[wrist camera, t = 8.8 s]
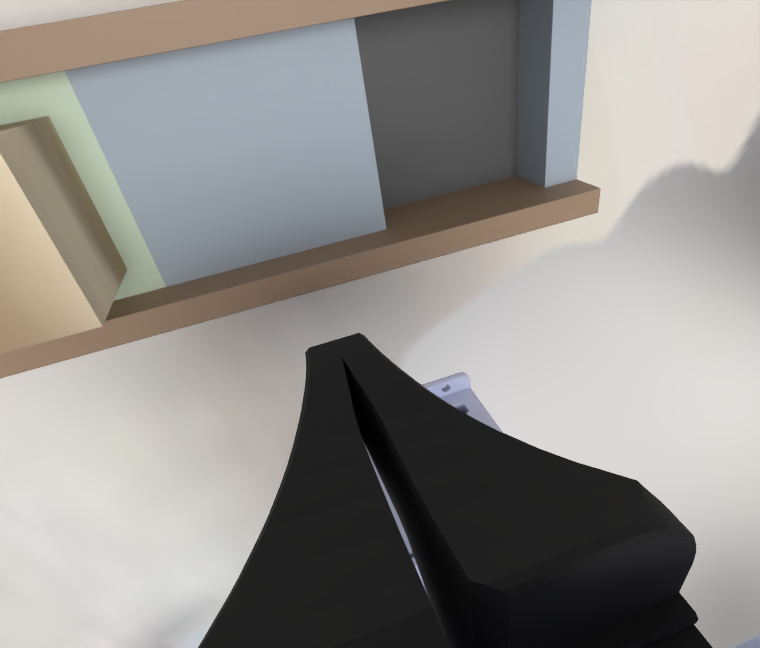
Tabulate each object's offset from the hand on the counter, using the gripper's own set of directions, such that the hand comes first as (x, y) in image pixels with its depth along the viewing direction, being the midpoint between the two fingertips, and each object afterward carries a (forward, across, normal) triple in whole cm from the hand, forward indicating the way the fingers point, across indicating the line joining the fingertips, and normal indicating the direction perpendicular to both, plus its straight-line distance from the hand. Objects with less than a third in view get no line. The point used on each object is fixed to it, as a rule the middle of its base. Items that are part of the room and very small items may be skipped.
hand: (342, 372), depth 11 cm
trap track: (+10, +3, -3) cm, 11 cm away
